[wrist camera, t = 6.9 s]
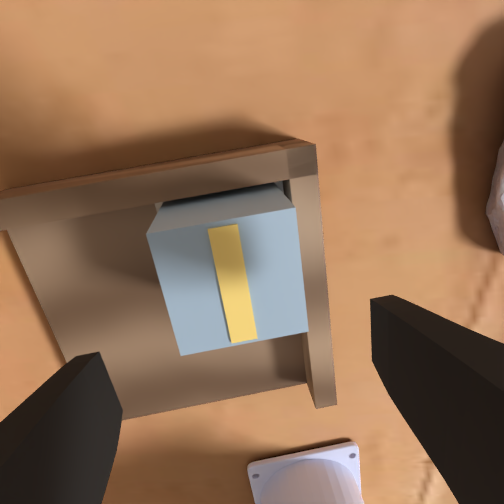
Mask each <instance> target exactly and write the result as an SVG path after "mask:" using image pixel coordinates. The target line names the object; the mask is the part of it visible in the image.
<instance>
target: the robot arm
mask: <svg viewBox="0 0 504 504" xmlns="http://www.w3.org/2000/svg"><path fill="white" fill-rule="evenodd" d="M370 311H371V344H372V362H373V364H374V366H375V368H376V370H377V372H378V374H379V376H380V378H381V380H382V382H383V384H384V386H385V388H386V390H387V392H388V394H389V396H390V397H391V399H392V400H393V402H394V404H395V405H396V407H397V408H398V410H399V411H400V413H401V414H402V416H403V417H404V419H405V420H406V422H407V424H408V425H409V427H410V428H411V430H412V431H413V433H414V434H415V436H416V437H417V439H418V440H419V442H420V443H421V445H422V446H423V448H424V449H425V451H426V452H427V454H428V455H429V457H430V458H431V460H432V461H433V463H434V464H435V466H436V467H437V469H438V471H439V472H440V474H441V475H442V477H443V478H444V480H445V481H446V483H447V485H448V486H449V488H450V490H451V491H452V493H453V495H454V496H455V498H456V500H457V501H458V503H459V504H504V344H503V343H501V342H498V341H496V340H493V339H491V338H488V337H486V336H484V335H481V334H479V333H477V332H474V331H472V330H470V329H468V328H465V327H463V326H461V325H459V324H456V323H454V322H452V321H450V320H448V319H445V318H443V317H441V316H439V315H437V314H435V313H433V312H430V311H428V310H426V309H424V308H422V307H420V306H418V305H415V304H413V303H411V302H409V301H407V300H404V299H402V298H400V297H397V296H394V295H389V296H383V297H378V298H373V299H370ZM122 414H123V409H122V407H121V404H120V402H119V399H118V397H117V394H116V392H115V389H114V386H113V384H112V381H111V379H110V376H109V374H108V371H107V369H106V366H105V364H104V361H103V359H102V356H101V354H100V351H99V352H94V353H89V354H84V355H79V356H75V357H74V358H73V359H71V360H70V361H69V362H68V363H66V364H65V365H64V366H63V367H62V368H61V369H59V370H58V371H57V372H56V373H55V374H54V375H53V376H51V377H50V378H49V379H48V380H47V381H46V382H45V383H44V384H43V385H41V386H40V387H39V388H38V389H37V390H36V391H35V392H34V393H33V394H31V395H30V396H29V397H28V398H27V399H26V400H25V401H24V402H23V403H21V404H20V405H19V406H18V407H17V408H16V409H15V410H14V411H13V412H11V413H10V414H9V415H8V416H7V417H6V418H5V419H4V420H3V421H1V422H0V504H101V503H102V500H103V496H104V493H105V490H106V486H107V483H108V479H109V476H110V472H111V469H112V465H113V462H114V458H115V455H116V451H117V446H118V440H119V434H120V428H121V421H122ZM247 471H248V476H249V480H250V484H251V489H252V493H253V497H254V501H255V504H364V501H363V498H362V496H361V481H360V462H359V448H358V446H357V443H355V442H353V441H351V442H345V443H341V444H336V445H331V446H326V447H321V448H317V449H312V450H307V451H302V452H298V453H293V454H288V455H283V456H278V457H274V458H269V459H264V460H259V461H255V462H251V463H250V464H248V466H247Z"/></svg>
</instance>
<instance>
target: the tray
mask: <svg viewBox="0 0 504 504" xmlns="http://www.w3.org/2000/svg"><path fill="white" fill-rule="evenodd" d="M271 182H274V183H275V184H276V185H277V187H278V188H279V189H280V190H281V191H282V192H283V194H284V195H285V196H286V197H287V198H288V199H289V200H290V202H291V203H292V204H293V205H294V206H295V207H296V215H297V225H298V234H299V244H300V253H301V263H302V272H303V281H304V291H305V300H306V310H307V319H308V329H309V332H304V333H298V334H293V335H288V336H283V337H278V338H272V339H267V340H262V341H257V342H251V343H246V344H241V345H236V346H231V347H225V348H220V349H215V350H210V351H204V352H199V353H194V354H189V355H184V356H181V355H180V352H179V348H178V345H177V341H176V338H175V334H174V331H173V327H172V324H171V320H170V316H169V313H168V309H167V306H166V302H165V299H164V295H163V292H162V288H161V285H160V281H159V278H158V274H157V271H156V267H155V264H154V260H153V257H152V253H151V250H150V246H149V243H148V239H147V236H146V233H147V231H148V229H149V227H150V226H151V224H152V222H153V220H154V218H155V216H156V215H157V213H158V211H159V209H160V207H161V205H162V204H163V202H165V201H171V200H176V199H182V198H187V197H193V196H199V195H204V194H210V193H215V192H221V191H227V190H232V189H238V188H243V187H249V186H255V185H260V184H266V183H271ZM3 230H7V232H8V234H9V236H10V238H11V241H12V243H13V245H14V247H15V249H16V252H17V254H18V256H19V258H20V261H21V263H22V265H23V267H24V269H25V272H26V274H27V276H28V278H29V280H30V283H31V285H32V287H33V289H34V291H35V294H36V296H37V298H38V300H39V302H40V305H41V307H42V309H43V311H44V314H45V316H46V318H47V320H48V322H49V325H50V327H51V329H52V331H53V333H54V336H55V338H56V340H57V342H58V344H59V347H60V349H61V351H62V353H63V356H64V358H65V360H66V362H67V363H68V362H69V361H70V360H71V359H73V358H74V357H75V356H79V355H84V354H89V353H94V352H99V351H100V354H101V356H102V359H103V361H104V364H105V366H106V369H107V371H108V374H109V376H110V379H111V381H112V384H113V386H114V389H115V392H116V394H117V397H118V399H119V402H120V404H121V407H122V409H123V414H122V420H126V419H131V418H136V417H141V416H146V415H151V414H156V413H161V412H166V411H171V410H176V409H181V408H186V407H191V406H196V405H201V404H206V403H211V402H216V401H220V400H225V399H230V398H235V397H240V396H245V395H250V394H255V393H260V392H265V391H270V390H275V389H280V388H285V387H290V386H295V385H300V384H305V383H307V385H308V388H309V391H310V393H311V396H312V399H313V402H314V405H315V408H316V409H319V408H323V407H328V406H333V405H337V397H336V385H335V373H334V361H333V349H332V337H331V324H330V312H329V300H328V288H327V276H326V264H325V252H324V239H323V227H322V215H321V203H320V191H319V179H318V167H317V154H316V144H313V143H310V142H307V141H304V140H300V139H293V140H287V141H281V142H275V143H270V144H264V145H258V146H252V147H247V148H241V149H235V150H229V151H224V152H218V153H212V154H206V155H201V156H195V157H189V158H184V159H178V160H172V161H166V162H161V163H155V164H149V165H143V166H138V167H132V168H126V169H120V170H115V171H109V172H103V173H97V174H92V175H86V176H80V177H74V178H69V179H63V180H57V181H51V182H46V183H40V184H34V185H29V186H23V187H17V188H11V189H6V190H3V191H0V231H3Z"/></svg>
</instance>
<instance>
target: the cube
mask: <svg viewBox="0 0 504 504" xmlns="http://www.w3.org/2000/svg"><path fill="white" fill-rule="evenodd" d="M146 236H147V239H148V243H149V246H150V250H151V253H152V257H153V260H154V264H155V267H156V271H157V274H158V278H159V281H160V285H161V288H162V292H163V295H164V299H165V302H166V306H167V309H168V313H169V316H170V320H171V324H172V327H173V331H174V334H175V338H176V341H177V345H178V348H179V352H180V355H181V356H184V355H189V354H194V353H199V352H204V351H210V350H215V349H220V348H225V347H231V346H236V345H241V344H246V343H251V342H257V341H262V340H267V339H272V338H278V337H283V336H288V335H293V334H298V333H304V332H309V329H308V319H307V310H306V300H305V291H304V281H303V272H302V263H301V253H300V244H299V234H298V225H297V215H296V207H295V206H294V205H293V204H292V203H291V202H290V200H289V199H288V198H287V197H286V196H285V195H284V194H283V192H282V191H281V190H280V189H279V188H278V187H277V185H276V184H275V183H274V182H271V183H266V184H260V185H255V186H249V187H243V188H238V189H232V190H227V191H221V192H215V193H210V194H204V195H199V196H193V197H187V198H182V199H176V200H171V201H165V202H163V204H162V205H161V207H160V209H159V211H158V213H157V215H156V216H155V218H154V220H153V222H152V224H151V226H150V227H149V229H148V231H147V233H146Z"/></svg>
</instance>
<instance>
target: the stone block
mask: <svg viewBox="0 0 504 504" xmlns="http://www.w3.org/2000/svg"><path fill="white" fill-rule="evenodd" d="M486 215H487V217H488V219H489V221H490V224H491V228H492V231H493V234H494V236H495V238H496V241H497V244H498V247H499V250H500V252H501V253H502V254H503V255H504V141H503V143H502V145H501V146H500V148H499V151H498V157H497V164H496V168H495V172H494V175H493V178H492V185H491V192H490V196H489V199H488V202H487V205H486Z"/></svg>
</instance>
